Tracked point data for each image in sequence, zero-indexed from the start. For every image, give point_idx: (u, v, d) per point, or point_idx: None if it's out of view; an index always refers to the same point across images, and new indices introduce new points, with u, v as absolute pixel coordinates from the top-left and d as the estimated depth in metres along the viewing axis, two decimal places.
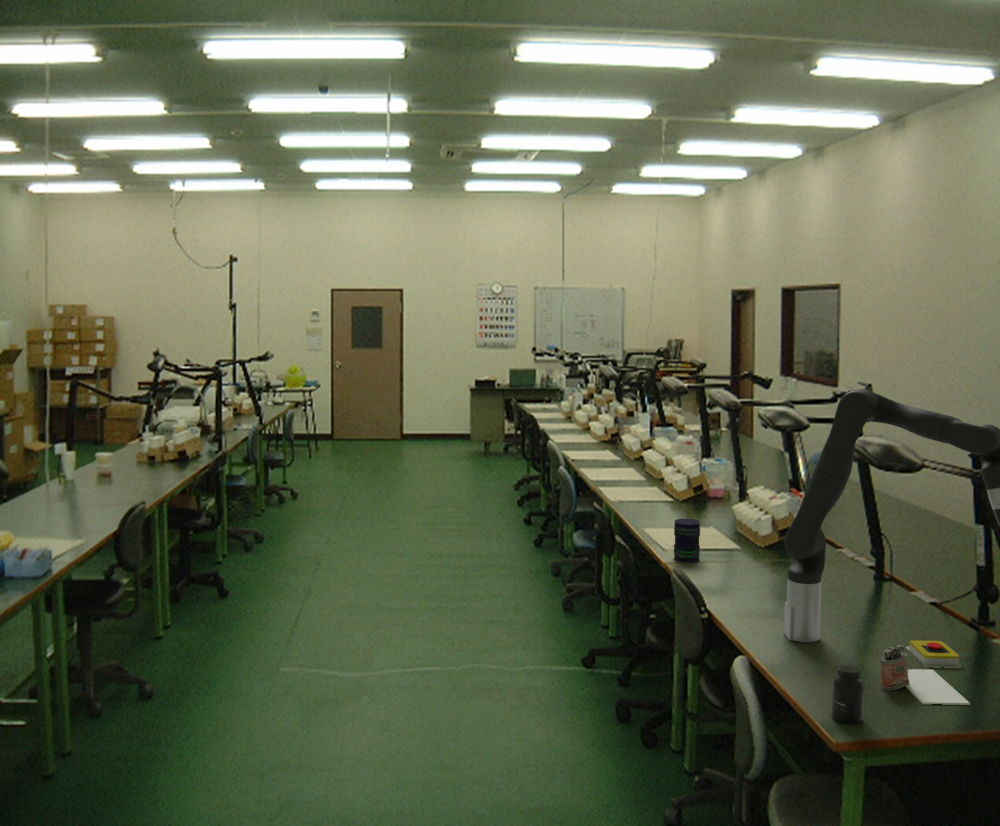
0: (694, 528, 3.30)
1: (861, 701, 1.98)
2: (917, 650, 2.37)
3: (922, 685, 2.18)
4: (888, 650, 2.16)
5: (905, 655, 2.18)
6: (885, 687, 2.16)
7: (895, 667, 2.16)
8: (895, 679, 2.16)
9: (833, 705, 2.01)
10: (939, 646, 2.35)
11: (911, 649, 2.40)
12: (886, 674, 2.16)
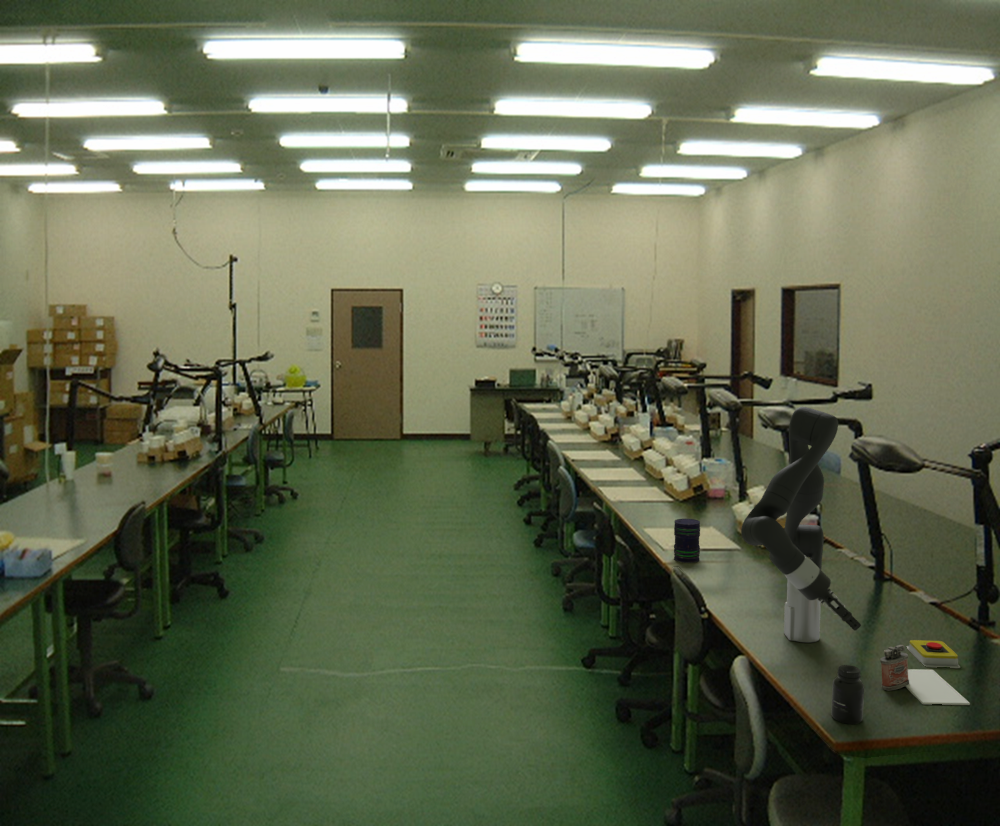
0: (694, 528, 3.30)
1: (861, 701, 1.98)
2: (916, 649, 2.37)
3: (922, 685, 2.18)
4: (888, 650, 2.16)
5: (905, 655, 2.18)
6: (885, 687, 2.16)
7: (895, 667, 2.16)
8: (895, 679, 2.16)
9: (833, 705, 2.01)
10: (938, 646, 2.35)
11: (911, 649, 2.41)
12: (886, 674, 2.16)
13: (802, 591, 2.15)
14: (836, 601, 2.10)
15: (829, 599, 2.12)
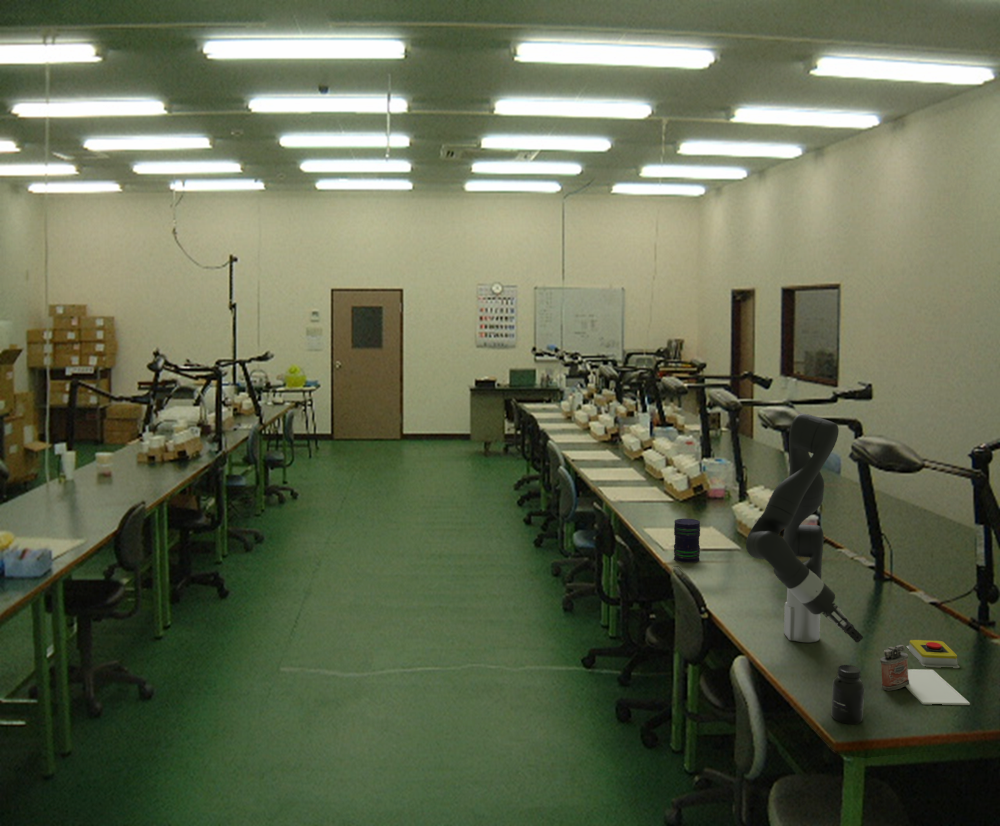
0: (694, 528, 3.30)
1: (861, 701, 1.98)
2: (915, 649, 2.37)
3: (922, 685, 2.18)
4: (888, 650, 2.16)
5: (905, 655, 2.18)
6: (885, 687, 2.16)
7: (895, 667, 2.16)
8: (895, 679, 2.16)
9: (833, 705, 2.01)
10: (938, 646, 2.35)
11: (911, 649, 2.41)
12: (886, 674, 2.16)
13: (806, 605, 2.15)
14: (846, 621, 2.11)
15: (837, 616, 2.12)
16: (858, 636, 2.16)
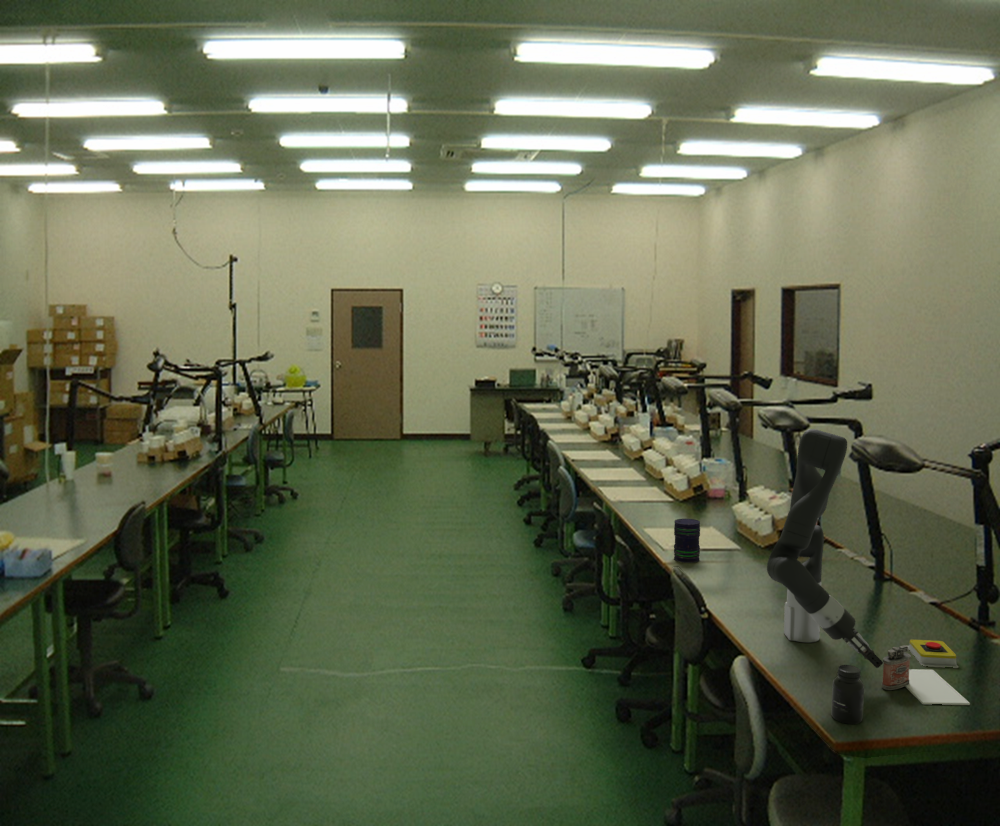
0: (694, 528, 3.30)
1: (861, 701, 1.98)
2: (915, 649, 2.38)
3: (922, 685, 2.18)
4: (892, 650, 2.16)
5: (908, 656, 2.17)
6: (885, 686, 2.16)
7: (897, 668, 2.15)
8: (896, 679, 2.16)
9: (833, 705, 2.01)
10: (937, 646, 2.35)
11: (910, 648, 2.41)
12: (888, 674, 2.15)
13: (826, 630, 2.16)
14: (866, 647, 2.11)
15: (857, 642, 2.13)
16: (878, 661, 2.16)
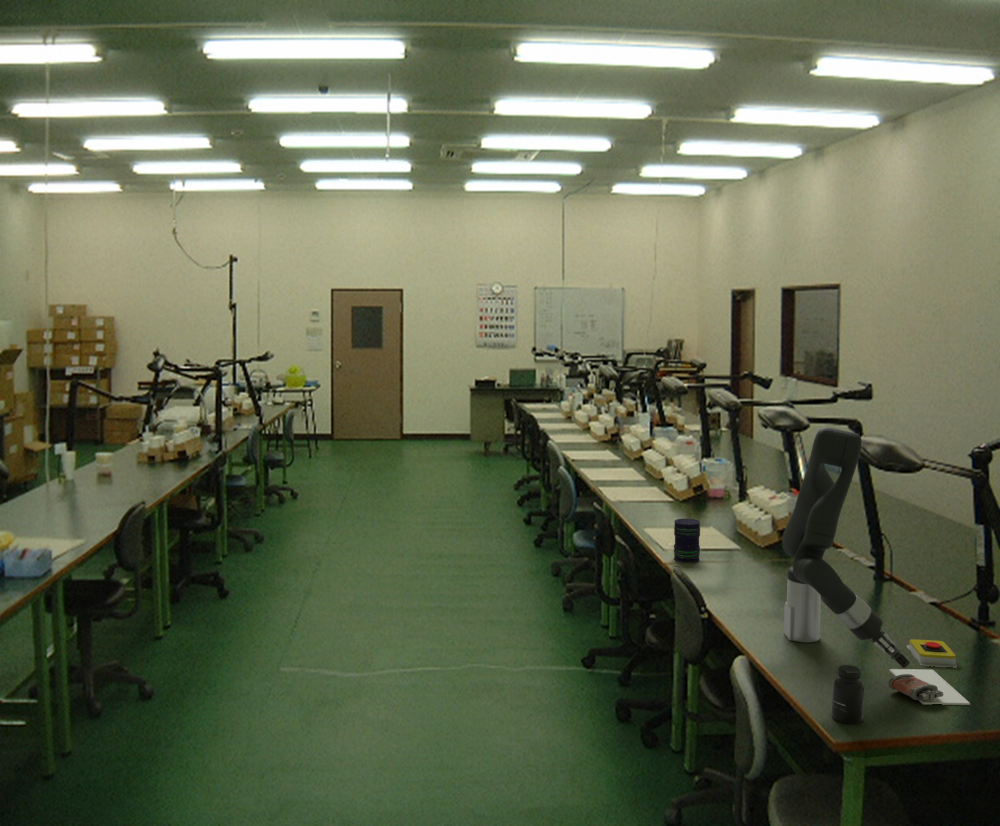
0: (694, 528, 3.30)
1: (861, 701, 1.98)
2: (914, 649, 2.38)
3: None
4: (927, 697, 2.07)
5: None
6: (890, 686, 2.14)
7: None
8: None
9: (833, 705, 2.01)
10: (937, 645, 2.35)
11: (910, 648, 2.41)
12: (902, 692, 2.11)
13: (853, 631, 2.15)
14: (894, 648, 2.11)
15: (884, 643, 2.13)
16: (905, 661, 2.16)
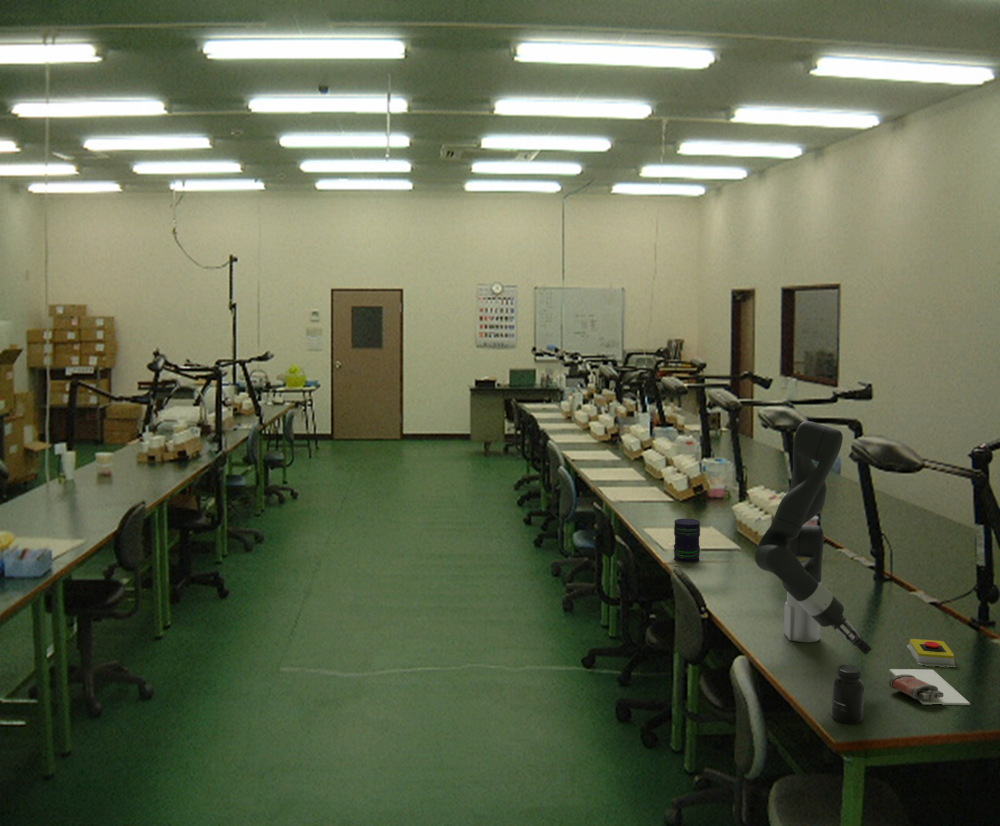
0: (694, 528, 3.30)
1: (861, 701, 1.98)
2: (913, 648, 2.38)
3: None
4: (927, 697, 2.07)
5: None
6: (891, 685, 2.14)
7: None
8: None
9: (833, 705, 2.01)
10: (936, 645, 2.35)
11: (910, 648, 2.42)
12: (903, 692, 2.11)
13: (815, 618, 2.16)
14: (855, 634, 2.12)
15: (845, 629, 2.13)
16: (866, 648, 2.16)
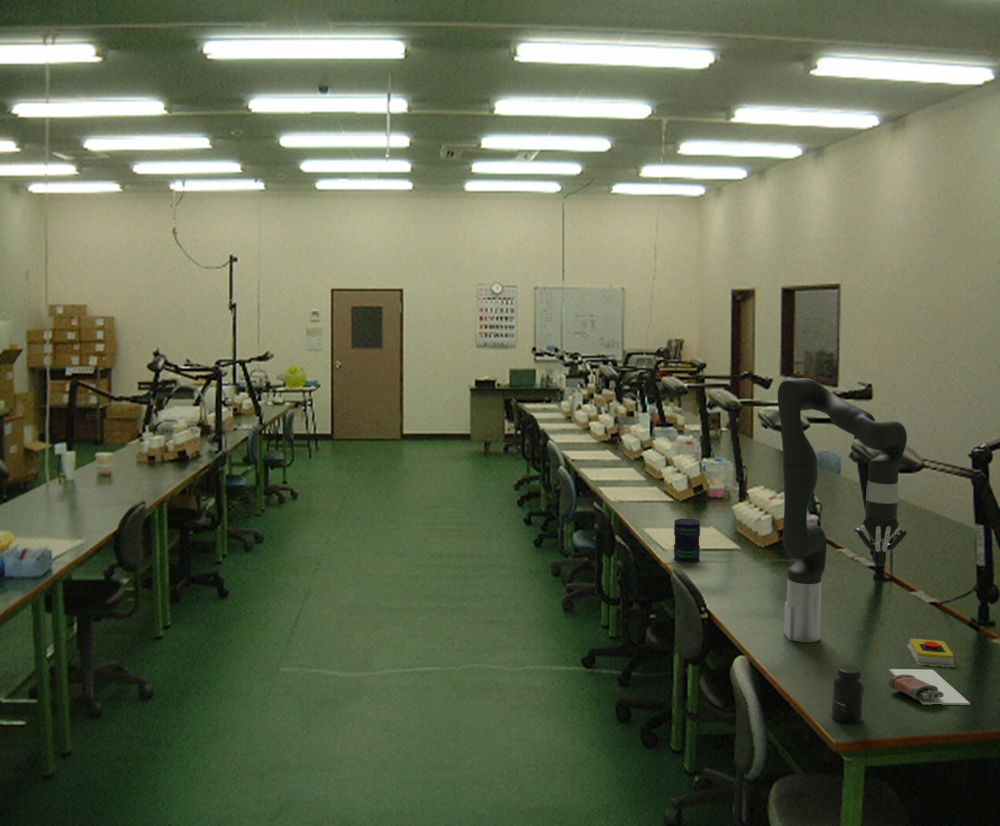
0: (694, 528, 3.30)
1: (861, 701, 1.98)
2: (913, 648, 2.38)
3: None
4: (927, 697, 2.07)
5: None
6: (891, 685, 2.14)
7: None
8: None
9: (833, 705, 2.01)
10: (935, 645, 2.35)
11: (910, 647, 2.42)
12: (903, 692, 2.11)
13: (893, 506, 2.20)
14: None
15: (898, 526, 2.23)
16: None
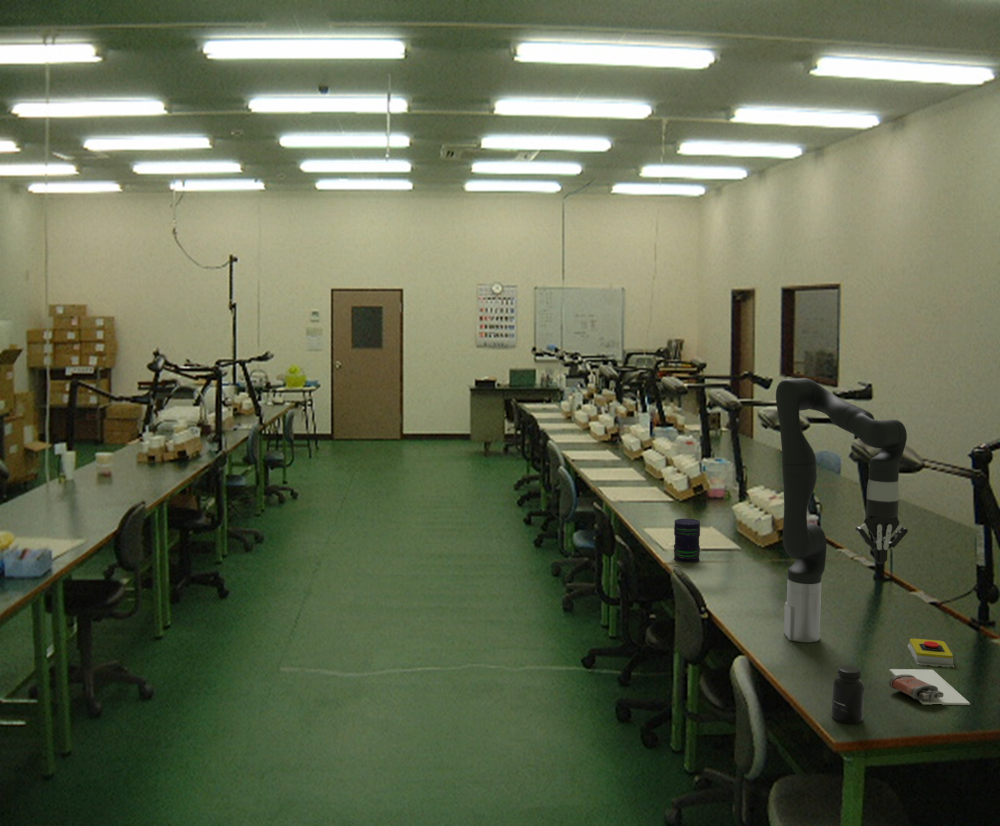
0: (694, 528, 3.30)
1: (861, 701, 1.98)
2: (913, 647, 2.39)
3: None
4: (927, 697, 2.07)
5: None
6: (891, 685, 2.14)
7: None
8: None
9: (833, 705, 2.01)
10: (935, 645, 2.35)
11: (910, 647, 2.42)
12: (903, 692, 2.11)
13: (894, 504, 2.20)
14: None
15: (899, 524, 2.24)
16: None
